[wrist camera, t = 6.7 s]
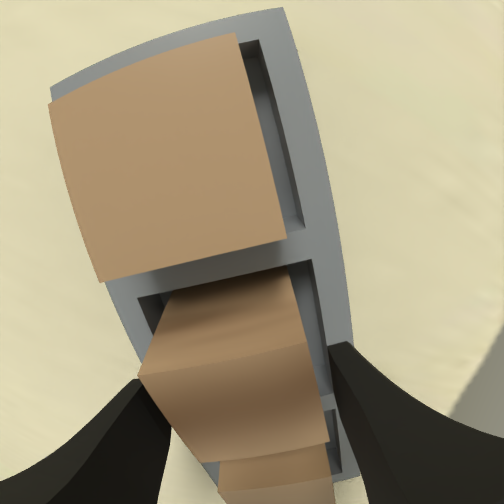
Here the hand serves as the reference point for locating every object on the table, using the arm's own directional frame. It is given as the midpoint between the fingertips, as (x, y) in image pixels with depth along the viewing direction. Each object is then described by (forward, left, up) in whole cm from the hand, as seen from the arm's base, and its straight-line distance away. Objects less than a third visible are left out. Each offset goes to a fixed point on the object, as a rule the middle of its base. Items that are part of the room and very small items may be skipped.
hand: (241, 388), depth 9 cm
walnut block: (0, 0, -4) cm, 4 cm away
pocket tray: (0, 0, -5) cm, 5 cm away
